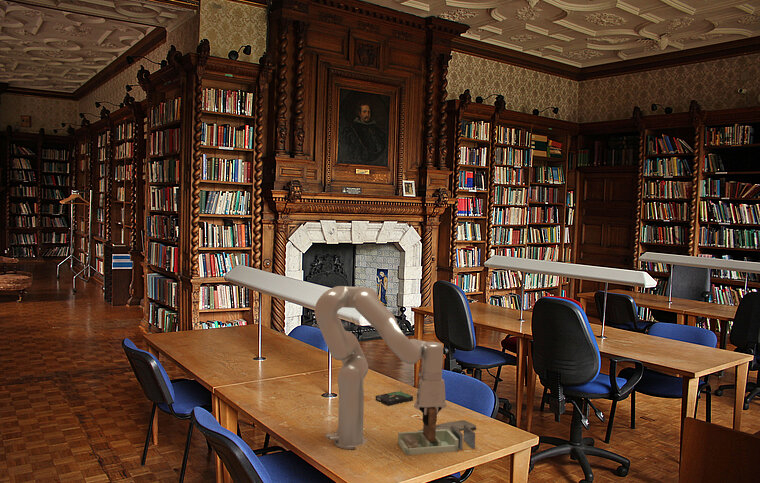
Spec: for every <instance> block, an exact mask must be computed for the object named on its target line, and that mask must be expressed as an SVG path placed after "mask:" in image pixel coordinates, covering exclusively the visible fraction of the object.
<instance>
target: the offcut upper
mask: <svg viewBox="0 0 760 483" xmlns="http://www.w3.org/2000/svg"><path fill="white" fill-rule="evenodd" d="M404 440H405V441H406V442H407V443H408V444H409V445H410V446H416V445H417V443H418V441H417V440H416V439H415V438H414V437H413V436H412V435H406V436H405V438H404Z"/></svg>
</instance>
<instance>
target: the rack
mask: <svg viewBox="0 0 760 483" xmlns="http://www.w3.org/2000/svg"><path fill="white" fill-rule="evenodd" d="M406 435H412V436H413V437H414V438H415V439H416V440H417V441H418V443H417V446H418V448H408V447H407V446H406V444H405V443H404V438H405V436H406ZM458 441H459V440H458V439H457V438H456V437H455V436H454V435H453V434H452V433H451V431H450V430H449V429H442V430H436V434H435V441H428V440H427V438H426V437H425V436H424V435H423V431H419V430H414V431H401V432H398V433H397V445H398V446H399V447H400V449H401V450H402V452H403V453H404V454H405V456H413V455H416V456H417V455H423V454H424V455H427V454H440V453H450V452H452V453H453V452H459V449H458Z"/></svg>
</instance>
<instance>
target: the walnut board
mask: <svg viewBox="0 0 760 483" xmlns="http://www.w3.org/2000/svg"><path fill="white" fill-rule="evenodd" d="M427 415H428V425H427V426H426V425H425V424H424V423H423V425H422V426H423V427H422V429H423V435H424V436H425V437H426V438H427V440H428V441H435V434H436V425H437V421H436V415H437V416H438V414H437V409H436V408H435V407H430V408H428V409H427Z"/></svg>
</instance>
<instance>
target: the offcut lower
mask: <svg viewBox="0 0 760 483" xmlns="http://www.w3.org/2000/svg"><path fill="white" fill-rule="evenodd" d="M404 443H405V444H406V446H407V447H408V448H418V446H417V445H416V446H410V445H409V444H408V443H407V442H406V441H405V440H404Z"/></svg>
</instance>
